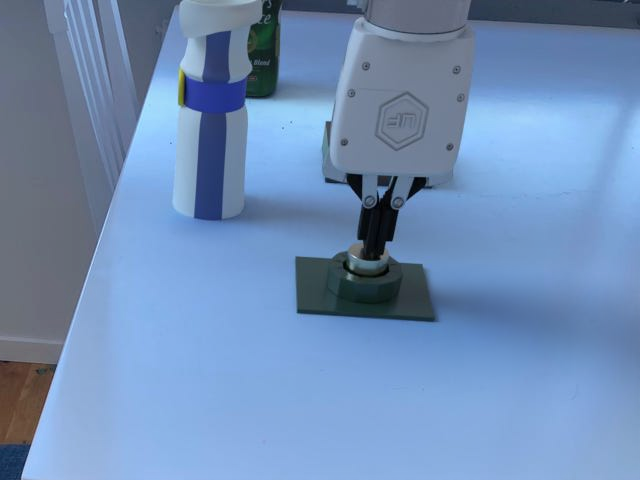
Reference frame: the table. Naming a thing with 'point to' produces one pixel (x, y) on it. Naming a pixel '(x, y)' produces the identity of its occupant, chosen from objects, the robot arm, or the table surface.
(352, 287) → the dark green button base
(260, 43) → the coffee jar
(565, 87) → the table surface
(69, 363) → the table surface
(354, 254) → the bell button
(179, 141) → the water bottle
